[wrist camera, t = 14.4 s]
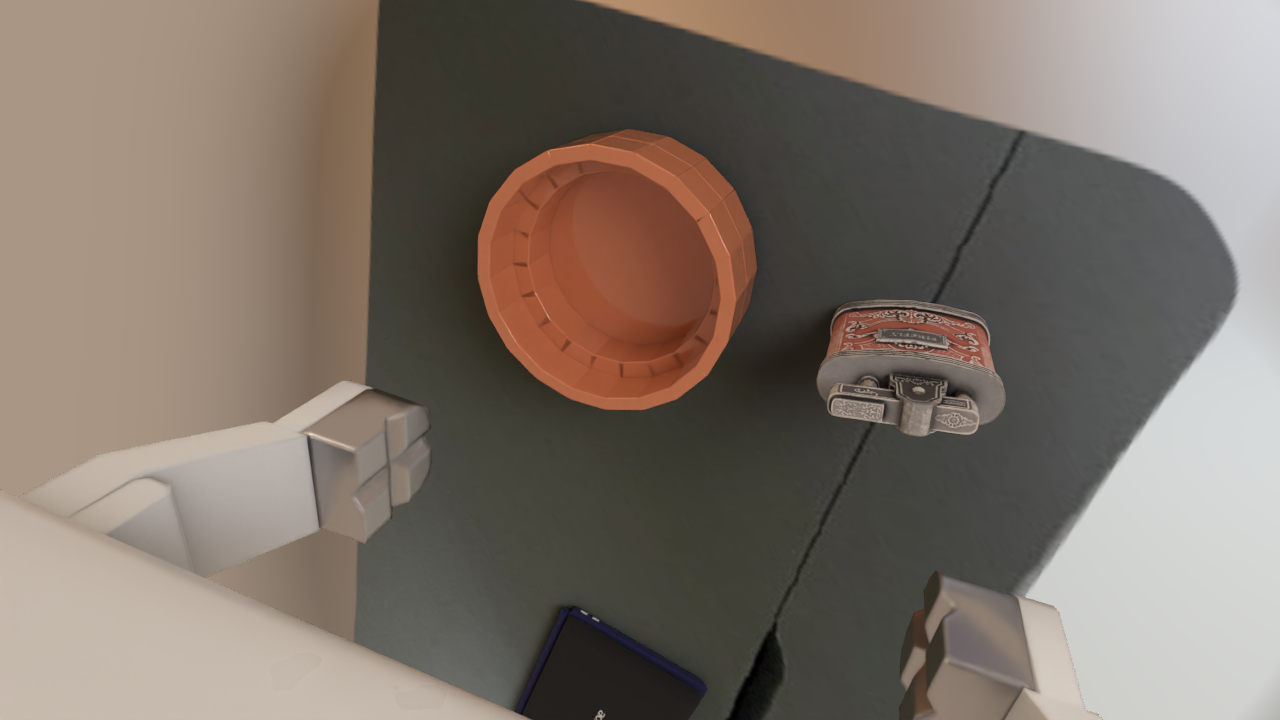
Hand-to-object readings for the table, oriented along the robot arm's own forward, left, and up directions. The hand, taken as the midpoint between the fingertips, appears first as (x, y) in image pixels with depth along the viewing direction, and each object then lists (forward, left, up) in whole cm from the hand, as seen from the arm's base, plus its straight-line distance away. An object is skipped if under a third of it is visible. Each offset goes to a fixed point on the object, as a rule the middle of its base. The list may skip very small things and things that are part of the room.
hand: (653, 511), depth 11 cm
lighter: (-6, +7, -29) cm, 31 cm away
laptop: (+8, +48, -29) cm, 57 cm away
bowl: (+10, +7, -29) cm, 32 cm away
